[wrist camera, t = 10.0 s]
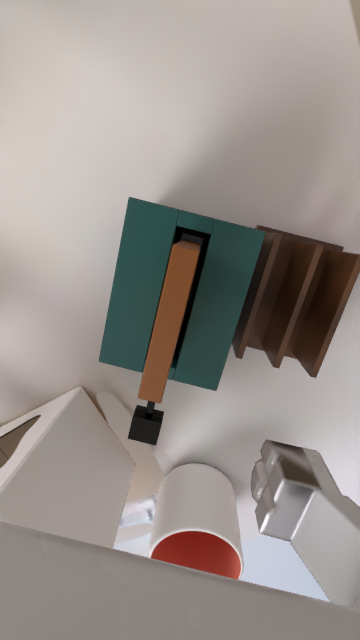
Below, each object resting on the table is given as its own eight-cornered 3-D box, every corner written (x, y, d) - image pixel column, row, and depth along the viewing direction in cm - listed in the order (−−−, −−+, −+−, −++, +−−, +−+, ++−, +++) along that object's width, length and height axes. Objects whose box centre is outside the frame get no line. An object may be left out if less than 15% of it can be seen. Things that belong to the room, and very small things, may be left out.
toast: (183, 239, 25) (172, 244, 16) (200, 243, 25) (200, 251, 16) (158, 340, 28) (136, 398, 18) (174, 344, 28) (160, 404, 18)
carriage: (158, 432, 32) (155, 445, 30) (132, 426, 32) (127, 438, 30) (209, 239, 26) (210, 239, 24) (177, 231, 26) (175, 230, 24)
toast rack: (256, 225, 32) (271, 223, 26) (340, 246, 32) (376, 250, 26) (222, 338, 36) (227, 361, 29) (298, 357, 36) (320, 385, 29)
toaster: (211, 344, 36) (216, 391, 26) (121, 321, 36) (88, 359, 26) (244, 231, 32) (266, 231, 22) (144, 206, 32) (117, 193, 22)
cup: (146, 496, 43) (130, 572, 33) (184, 445, 40) (179, 512, 31) (207, 529, 44) (209, 613, 34) (248, 482, 41) (263, 558, 31)
